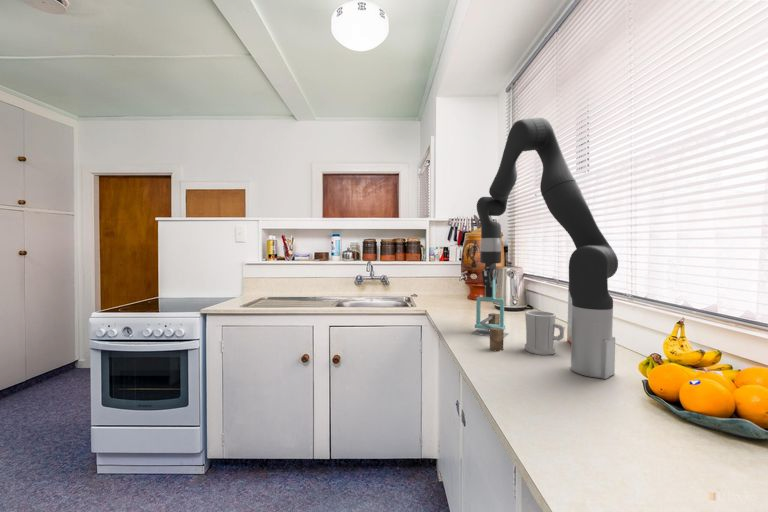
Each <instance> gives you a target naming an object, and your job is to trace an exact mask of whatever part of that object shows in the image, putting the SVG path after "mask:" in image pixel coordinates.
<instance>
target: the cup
mask: <svg viewBox="0 0 768 512" xmlns="http://www.w3.org/2000/svg"><path fill="white" fill-rule="evenodd" d="M524 314H525V329H526V330H525V331H526V333H525V334H526V335H525V337H526V338H525V339H526V340H525V342H526V343H525V344H524V350H525V351H526V352H528V353H530V354H534V355H539V356H540V355H541V356H551V355H553V354H554V353H556V347H555V341H558V342H560V341H562V340H563V339H564V338H565V328H566V327H565V326H564V324H561V323H558V322H556V319H557V314H556V313H553V312H550V311H544V310H543V311H541V310H528V311H527V310H526V311H525V312H524ZM555 329H558V331H559V334H558V335H557V336H555Z"/></svg>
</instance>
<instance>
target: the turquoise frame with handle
mask: <svg viewBox="0 0 768 512" xmlns="http://www.w3.org/2000/svg"><path fill="white" fill-rule="evenodd" d="M495 281H496V280H494V281H492V297H486V287H485V286H484V297H483V296H477V297H476V310H475V311H476V315H475V317H476V319H475V320H476V321H475V322H476V323H475V324H474V329H479V330H487V331H488V330H490V329H489V328H487V327H485V326H483V325H481V324H480V322H481V313H482V312H481V306H482V305H481V303H482V302H491V303H499V314H500V325H496V324H488V322H486V324H488V325H490V326H492V327H494V328H500V329H504V330H505V329H506V325H505V299H504V298H496V285H495ZM487 282H488V281H487Z"/></svg>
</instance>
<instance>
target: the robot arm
mask: <svg viewBox="0 0 768 512" xmlns="http://www.w3.org/2000/svg"><path fill="white" fill-rule="evenodd" d="M528 151H529V152H530V151H531V152H532V151H536V153H537V154H538V156H539V159H540V161H541V164H542V174H541V178H540V179H541V180H540V188H539V189H540V193H541V196H542V198H543V201H544V203H545V205H546V207H547V209H548V211H549V212H550V214H551V215H552V216H553V217H554V219H555V220H556V221H557V222H558V223H559V225H560V226H561V227H562V228H563V230H565V231H566V232H567V234H568V235H569V237H570V239H571V240H572V242H573V243H574V246H575V248H576V249H575V250H573V252H572V253H571V255H570V257H569V260H568V285H569V287H568V288H569V292H570V296H571V298H572V338H571V343H570V344H571V345H570V346H571V347H570V348H571V349H570V355H571V356H570V370H571V371H572V372H574V373H575V374H579V375H582V376H585V377H591V378H597V379H598V378H599V379H603V380H607V379H608V378H610V377H612V376H613V375H615V371H616V370H615V369H616V368H615V367H616V365H615V363H616V337H615V336H613V327H614V326H613V322H614V321H613V320H614V319H613V318H614V299H613V297H612V296H611V295H610V292H609V286H608V285H609V284H608V283H609V281H608V279H610V278H612V277H613V276H614V275H615V274H616V273H617V270H618V269H619V258H618V256H617V254H616V252H615V251H614V249H613V248H612V246H611V245H610V244H609V242H608V240H607V239H606V238H605V236H604V234H603V233H602V231H601V229H600V228H599V225H598V224H597V222H596V221H595V219H594V216H593V214H592V212H591V209H590V207H589V205H588V203H587V202H586V199H585V196H584V195H583V192H582V190H581V188H580V186H579V184H578V182H577V181H576V179H575V177H574V176H573V174H572V172H571V169H570V168H569V165H568V162H567V161H566V159H565V156H564V154H563V152H562V150H561V147H560V144H559V141H558V139H557V135H556V133H555V130H554V128H553V126H552V124H551V123H550V121H549V120H548V119H546V118H543V117H532V118H523V119H519V120H517V121H515V122H514V123H513V125H512V126H511V128H510V130H509V133H508V136H507V139H506V142H505V146H504V149H503V152H502V157H501V160H500V164H499V167H498V169H497V173H496V174H495V177H494V179H493V180H492V182H491V185H490V186H489V189H488V190H489V191H488V193H489V195H490V196H481V197H480V198H479V199H478V200H477V202H476V212H477V215H478V219H479V223H480V231H481V235H480V249H479V251H480V256H479V259H480V263H481V264H485V265H484V268H483V270H482V271H481V276H482V282H483V284H482V285H483V286H484V288H485V287H486V297H492V281H494V280H496V281H495V286H496V285H497V284H498V277H499V272H500V271H499V268H498V267H497V264H501V263H502V235H501V233H502V228H501V227H502V226H501V223H499V222H496V221H493V220H492V219H490V217H500V216H502V215H504V213H505V212H506V210H507V206H508V205H507V204H508V200H509V196H510V194H511V192H512V191H513V188H514V187H515V186H516V185H515V184H516V182H517V177H518V172H517V166H516V165H517V164H516V163H517V160H518V159H519V157H520V156H521V154H522V153H523V152H528ZM487 281H488V282H487Z"/></svg>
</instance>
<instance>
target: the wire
mask: <svg viewBox="0 0 768 512" xmlns="http://www.w3.org/2000/svg"><path fill="white" fill-rule="evenodd" d="M492 318H494V315H491V316H490V317H486V318H485V319H483V320H480V324H481V325H483V326H485V327H487V328H489V329H492V328H494V327H492V326H490V325H488V324H486V323H488V321H489V320H491V319H492Z"/></svg>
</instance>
